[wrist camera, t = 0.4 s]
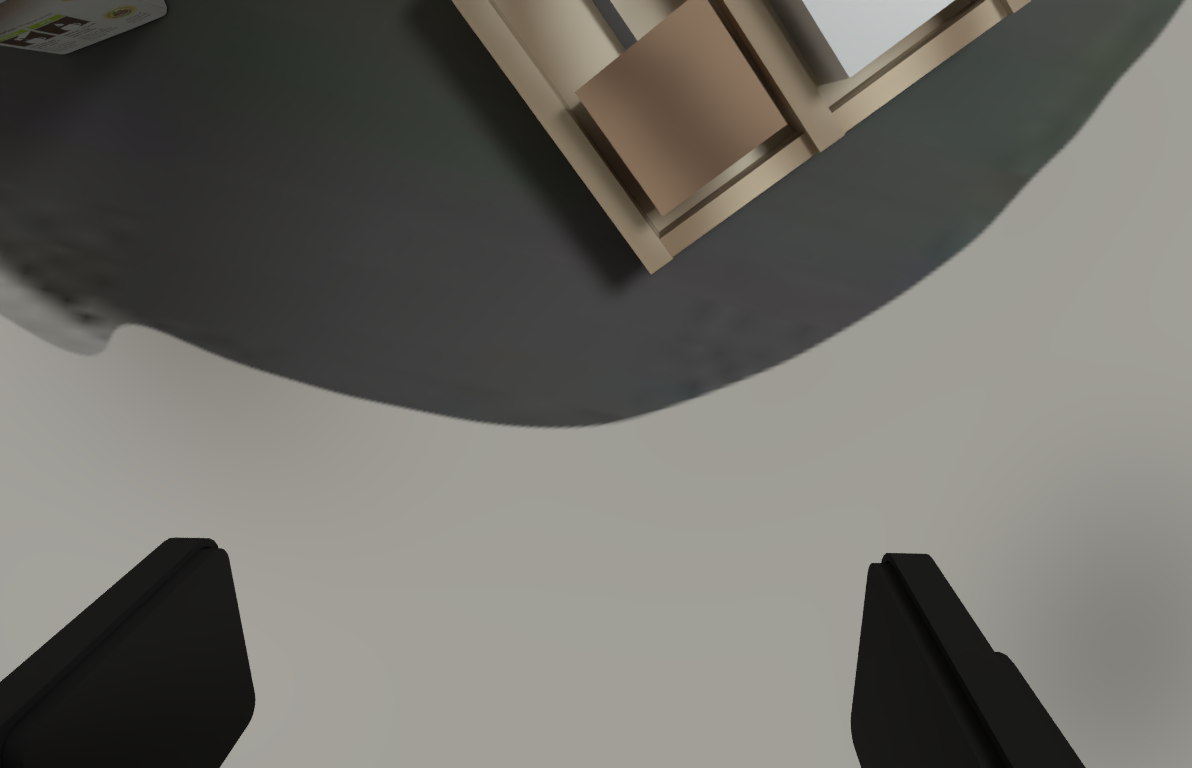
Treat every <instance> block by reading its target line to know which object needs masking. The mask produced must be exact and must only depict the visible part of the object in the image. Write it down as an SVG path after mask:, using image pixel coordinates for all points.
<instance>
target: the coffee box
mask: <svg viewBox="0 0 1192 768" xmlns="http://www.w3.org/2000/svg"><path fill="white" fill-rule="evenodd" d="M166 13H167V6H166V4H165V1H164V0H0V45H1V46H8V47H15V48H20V49H28V50H35V51H41V52H49V53H55V54H67V53H70V52H73V51H75V50H78V49H81V48H84V47H86V46H89V45H91V44H94V43H97V42H99V41H102V40H104V39H107V38H110V37H112V36H115V35H118V34H120V33H123V32H125V31H128V30H130V29H133V28H136V27H138V26H141V25H143V24H146V23H148V22H150V21H153V20H155V19H158V18H160V17H162V16H164V15H165V14H166Z"/></svg>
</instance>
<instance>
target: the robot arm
mask: <svg viewBox="0 0 1192 768" xmlns="http://www.w3.org/2000/svg"><path fill="white" fill-rule="evenodd" d="M254 708H255V693H254V687H253V682H252V677H251V671H250V666H249V661H248V656H247V651H246V646H245V640H244V635H243V629H242V624H241V619H240V614H239V609H238V603H237V598H236V593H235V588H234V582H233V577H232V572H231V566H230V561H229V557H228V554H227V553H226V551H225V550H224V549H221V548H218V545H217V544H216V543H215V541H214V540H212V539H210V538H169V539H168V540H166V541H164V542H163V543H162V544H161V545H160V546H158V547H157V548H156V549H155V550H154V551H153V552H151V553H150V554H149V555H148V556H147V557H146V558H145V559H143V560H142V561H141V562H140V563H139V564H137V565H136V566H135V567H134V568H133V569H132V570H130V571H129V572H128V573H127V574H126V575H125V576H123V577H122V578H121V579H120V580H119V581H118V582H116V584H114V585H113V586H112V587H111V588H109V589H108V590H107V591H106V592H105V593H104V594H103V595H101V596H100V597H99V598H98V599H97V600H95V601H94V602H93V603H92V604H91V605H90V606H88V607H87V608H86V609H85V610H84V611H83V612H81V613H80V614H79V615H78V616H77V617H76V618H75V619H73V620H72V621H71V622H70V623H69V624H68V625H66V626H65V627H64V628H63V629H62V630H60V631H59V632H58V633H57V634H56V635H55V636H53V637H52V638H51V639H50V640H49V641H48V642H46V643H45V644H44V645H43V646H42V647H41V648H40V649H39V650H37V651H36V652H35V653H34V654H33V655H31V656H30V657H29V658H28V659H27V660H26V661H25V662H23V663H22V664H21V665H20V666H19V667H17V668H16V669H15V670H14V671H13V672H11V673H10V674H9V675H8V676H7V677H6V678H4V679H3V680H2V681H1V682H0V768H220V766H221V765H222V763H223V762H224V760H225V759H226V757H227V756H228V754H229V753H230V751H231V750H232V748H233V747H234V745H235V744H236V742H237V741H238V739H239V738H240V736H241V735H242V733H243V732H244V730H245V729H246V727H247V726H248V724H249V722H250V720H251V718H252V715H253V712H254ZM851 732H852V739H853V743H854V747H855V750H856V753H857V756H858V759H859V762H860V765H861V768H1085V766H1084V765H1083V763H1082V762H1081V760H1080V759H1079V757H1078V756H1077V755H1076V753H1075V752H1074V750H1073V749H1072V747H1071V746H1070V744H1069V743H1068V741H1067V740H1066V739H1065V737H1064V736H1063V734H1062V733H1061V731H1060V730H1059V728H1058V727H1057V725H1056V724H1055V723H1054V721H1053V720H1052V718H1051V717H1050V715H1049V714H1048V712H1047V711H1046V709H1045V708H1044V707H1043V705H1042V704H1041V703H1040V701H1039V699H1038V698H1037V697H1036V695H1035V693H1034V692H1033V691H1032V689H1031V688H1030V686H1029V685H1028V683H1027V682H1026V680H1025V679H1024V677H1023V676H1022V674H1021V673H1020V672H1019V670H1018V669H1017V667H1016V666H1015V664H1014V663H1013V662H1012V661H1011V660H1010V659H1009V658H1008V656H1007V655H1005V654H1003V653H1000V652H994V650H993V649H992V647H991V646H990V644H989V643H988V641H987V640H986V638H985V637H984V635H983V634H982V632H981V631H980V629H979V628H978V626H977V625H976V623H975V622H974V620H973V619H972V617H971V616H970V614H969V613H968V611H967V610H966V608H965V607H964V605H963V604H962V602H961V601H960V599H959V598H958V596H957V595H956V593H955V592H954V590H953V589H952V587H951V586H950V584H949V583H948V581H947V580H946V578H945V577H944V575H943V574H942V572H941V571H940V569H939V568H938V566H937V565H936V563H935V562H934V560H933V559H932V558H931V557H930V555H928V554H905V553H886V554H885V555H884V556H883V559H882V562H881V563H872V564H870V566H869V570H868V575H867V584H866V592H865V601H864V610H863V619H862V627H861V636H860V645H859V652H858V661H857V671H856V678H855V686H854V695H853V703H852V712H851Z"/></svg>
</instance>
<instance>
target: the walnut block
mask: <svg viewBox="0 0 1192 768" xmlns="http://www.w3.org/2000/svg"><path fill="white" fill-rule="evenodd" d="M592 1H593V2H594V4H595V5H596V7H597V8H598V9H599V11H600V12H601V14H602V15H603V17H604V18H605V20H606V21H607V23H608V24H609V26H610V27H611V29H612V30H613V31H614V33H615V34H616V36H617V37H618V39H619V40H620V42H621V43H622V45H623V46H624V48H625V49H626V51H625V52H623V53H622V54H621V55H620V56H619V57H617V58H616V59H615V60H614V61H612V62H611V63H610V64H609V65H608V66H606V67H605V68H604V69H603V70H601V71H600V72H599V73H598V74H596V75H595V76H594V77H593V78H592V79H590V80H589V81H588V82H587V83H585V84H584V85H583V86H582V87H581V88H579V89H578V90H577V91H576V92H575V94H576V95H577V96H578V98H579V99H580V101H581V102H582V103H583V105H584V106H585V108H586V109H587V110H588V112H589V113H590V115H591V116H592V118H593V119H594V120H595V122H596V123H597V125H598V126H599V127H600V129H601V130H602V132H603V133H604V134H605V136H606V137H607V139H608V140H609V142H610V143H611V144H612V146H613V147H614V149H615V150H616V151H617V153H618V154H619V156H620V157H621V158H622V160H623V161H624V163H625V164H626V166H627V167H628V168H629V170H630V171H631V173H632V174H633V175H634V177H635V178H636V180H637V181H638V182H639V184H640V185H641V187H642V188H643V189H644V191H645V192H646V194H647V195H648V197H649V198H650V199H651V201H652V202H653V204H654V205H655V206H656V208H657V209H658V211H659V212H660V213H661V215H662V216H664V215H665V214H667V213H668V212H669V211H671V210H672V209H673V208H675V207H676V206H677V205H679V204H680V203H681V202H683V201H684V200H686V199H687V198H688V197H690V196H691V195H692V194H694V193H695V192H696V191H698V190H699V189H700V188H702V187H703V186H704V185H706V184H707V183H709V182H710V181H711V180H713V179H714V178H715V177H717V176H718V175H719V174H721V173H722V172H723V171H725V170H726V169H727V168H729V167H730V166H731V165H733V164H734V163H736V162H737V161H738V160H740V159H741V158H742V157H744V156H745V155H746V154H748V153H749V152H750V151H752V150H753V149H754V148H756V147H757V146H759V145H760V144H761V143H763V142H764V141H765V140H767V139H768V138H769V137H771V136H772V135H773V134H775V133H776V132H777V131H779V130H780V129H781V128H783V127H784V126H786V125H787V123H786V121H785V120H784V118H783V117H782V115H781V113H780V112H779V110H778V109H777V107H776V106H775V104H774V103H773V101H772V100H771V98H770V96H769V95H768V93H767V92H766V90H765V89H764V87H763V86H762V84H761V82H760V81H759V79H758V78H757V76H756V75H755V73H754V72H753V70H752V68H751V67H750V65H749V64H748V62H747V61H746V59H745V58H744V56H743V54H742V53H741V51H740V50H739V48H738V47H737V45H736V44H735V42H734V41H733V39H732V37H731V36H730V34H729V33H728V31H727V30H726V28H725V27H724V25H723V23H722V22H721V20H720V19H719V17H718V16H717V14H716V13H715V11H714V9H713V8H712V6H711V5H710V3H709V2H708V0H687V1H686V2H685V3H684V4H682V5H681V6H680V7H679V8H677V9H676V10H675V11H674V12H673V13H671V14H670V15H669V16H668V17H666V18H665V19H664V20H663V21H661V22H660V23H659V24H658V25H657V26H655V27H654V28H653V29H652V30H650V31H649V32H648V33H647V34H646V35H644V36H643V37H642V38H641V39H639V40H638V41H637V39H636V38H635V36H634V35H633V33H632V32H631V31H630V29H629V28H628V26H627V25H626V23H625V22H624V20H623V19H622V17H621V16H620V14H619V13H618V11H617V10H616V8H615V7H614V5H613V4H612V2H611V1H610V0H592Z"/></svg>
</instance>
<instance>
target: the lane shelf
mask: <svg viewBox="0 0 1192 768" xmlns="http://www.w3.org/2000/svg"><path fill="white" fill-rule="evenodd" d="M610 1H611V2H612V4H613V5H614V7H615V8H616V10H617V11H618V13H619V14H620V16H621V17H622V19H623V20H624V22H625V23H626V25H627V26H628V28H629V29H630V31H631V32H632V33H633V35H634V36H635V38H636V39H637V41H638V40H639V39H641V38H642V37H643V36H644V35H646V34H647V33H648V32H649V31H650V30H652V29H653V28H654V27H655V26H657V25H658V24H659V23H660V22H661V21H663V20H664V19H665V18H666V17H668V16H669V15H670V14H671V13H673V12H674V11H675V10H676V9H677V8H679V7H680V6H681V5H682V4H684V3H685V2H686V1H687V0H610ZM1030 1H1031V0H954V1H953V2H952V3H950V4H949V5H948V6H946V7H945V8H944V9H942V10H941V11H940V12H938V13H937V14H936V15H934V16H933V17H931V18H930V19H929V20H927V21H926V22H925V23H923V24H922V25H921V26H919V27H918V28H917V29H915V30H914V31H913V32H911V33H910V34H909V35H907V36H906V37H904V38H903V39H902V40H900V41H899V42H898V43H896V44H895V45H894V46H892V47H891V48H890V49H888V50H887V51H886V52H884V53H883V54H881V55H880V56H879V57H877V58H876V59H875V60H873V61H872V62H871V63H869V64H868V65H867V66H865V67H864V68H863V69H861V70H860V71H859V72H857V73H856V74H854V75H853V76H852V77H850V78H848V79H844V80H840V81H836V82H832V83H828V84H824V85H821V84H820V82H819V81H818V79H817V77H816V76H815V74H814V73H813V71H812V69H811V68H810V66H809V65H808V63H807V61H806V60H805V58H804V57H803V55H802V53H801V52H800V50H799V49H798V47H797V45H796V44H795V42H794V41H793V39H792V37H791V36H790V34H789V33H788V31H787V29H786V28H785V26H784V25H783V23H782V21H781V20H780V18H779V17H778V15H777V13H776V12H775V10H774V9H773V7H772V5H771V4H770V2H769V0H708V2H709V3H710V5H711V6H712V8H713V9H714V11H715V13H716V14H717V16H718V17H719V19H720V20H721V22H722V23H723V25H724V27H725V28H726V30H727V31H728V33H729V34H730V36H731V37H732V39H733V41H734V42H735V44H736V45H737V47H738V48H739V50H740V51H741V53H742V54H743V56H744V58H745V59H746V61H747V62H748V64H749V65H750V67H751V68H752V70H753V72H754V73H755V75H756V76H757V78H758V79H759V81H760V82H761V84H762V86H763V87H764V89H765V90H766V92H767V93H768V95H769V96H770V98H771V100H772V101H773V103H774V104H775V106H776V107H777V109H778V110H779V112H780V113H781V115H782V117H783V118H784V120H785V121H786V123H787V125H786V126H784V127H783V128H781V129H780V130H779V131H777V132H776V133H775V134H773V135H772V136H771V137H769V138H768V139H767V140H765V141H764V142H763V143H761V144H760V145H759V146H757V147H756V148H754V149H753V150H752V151H750V152H749V153H748V154H746V155H745V156H744V157H742V158H741V159H740V160H738V161H737V162H736V163H734V164H733V165H731V166H730V167H729V168H727V169H726V170H725V171H723V172H722V173H721V174H719V175H718V176H717V177H715V178H714V179H713V180H711V181H710V182H709V183H707V184H706V185H704V186H703V187H702V188H700V189H699V190H698V191H696V192H695V193H694V194H692V195H691V196H690V197H688V198H687V199H686V200H684V201H683V202H681V203H680V204H679V205H677V206H676V207H675V208H673V209H672V210H671V211H669V212H668V213H667V214H665V215H664V216H662V215H661V213H660V212H659V211H658V209H657V208H656V206H655V205H654V204H653V202H652V201H651V199H650V198H649V197H648V195H647V194H646V192H645V191H644V189H643V188H642V187H641V185H640V184H639V182H638V181H637V180H636V178H635V177H634V175H633V174H632V173H631V171H630V170H629V168H628V167H627V166H626V164H625V163H624V161H623V160H622V158H621V157H620V156H619V154H618V153H617V151H616V150H615V149H614V147H613V146H612V144H611V143H610V142H609V140H608V139H607V137H606V136H605V134H604V133H603V132H602V130H601V129H600V127H599V126H598V125H597V123H596V122H595V120H594V119H593V118H592V116H591V115H590V113H589V112H588V110H587V109H586V108H585V106H584V105H583V103H582V102H581V101H580V99H579V98H578V96H577V95H576V94H575V92H576V91H577V90H578V89H579V88H581V87H582V86H583V85H584V84H585V83H587V82H588V81H589V80H590V79H592V78H593V77H594V76H595V75H596V74H598V73H599V72H600V71H601V70H603V69H604V68H605V67H606V66H608V65H609V64H610V63H611V62H612V61H614V60H615V59H616V58H617V57H619V56H620V55H621V54H622V53H623V52H625V51H626V49H625V48H624V46H623V45H622V43H621V42H620V40H619V39H618V37H617V36H616V34H615V33H614V31H613V30H612V29H611V27H610V26H609V24H608V23H607V21H606V20H605V18H604V17H603V15H602V14H601V12H600V11H599V9H598V8H597V7H596V5H595V4H594V2H593V1H592V0H452V2H453V3H454V5H455V6H456V7H457V9H458V10H459V11H460V13H461V14H462V16H463V17H464V18H465V20H466V21H467V22H468V24H469V25H470V27H471V28H472V29H473V31H474V32H475V33H476V35H477V36H478V38H479V39H480V40H481V42H482V43H483V44H484V46H485V47H486V48H487V50H488V51H489V53H490V54H491V55H492V57H493V58H494V59H495V61H496V62H497V64H498V65H499V66H500V68H501V69H502V70H503V72H504V73H505V75H506V76H507V77H508V79H509V80H510V81H511V83H512V84H513V86H514V87H515V88H516V90H517V91H518V92H519V94H520V95H521V97H522V98H523V99H524V101H525V102H526V103H527V105H528V106H529V108H530V109H531V110H532V112H533V113H534V114H535V116H536V117H537V119H538V120H539V121H540V123H541V124H542V125H543V127H544V128H545V130H546V131H547V132H548V134H549V135H550V136H551V138H552V139H553V141H554V142H555V143H556V145H557V146H558V147H559V149H560V150H561V152H562V153H563V154H564V156H565V157H566V158H567V160H568V161H569V163H570V164H571V165H572V167H573V168H574V169H575V171H576V172H577V174H578V175H579V176H580V178H581V179H582V180H583V182H584V183H585V185H586V186H587V187H588V189H589V190H590V191H591V193H592V194H593V195H594V197H595V198H596V200H597V201H598V202H599V204H600V205H601V206H602V208H603V209H604V211H605V212H606V213H607V215H608V216H609V217H610V219H611V220H612V222H613V223H614V224H615V226H616V227H617V228H618V230H619V231H620V233H621V234H622V235H623V237H624V238H625V239H626V241H627V242H628V244H629V245H630V246H631V248H632V249H633V250H634V252H635V253H636V255H637V256H638V257H639V259H640V260H641V261H642V263H643V264H644V266H645V267H646V268H647V270H648V271H649V272H650V274H653V273H654V272H655V271H657V270H658V269H659V268H661V267H662V266H664V265H665V264H666V263H668V262H669V261H671V260H672V259H673V256H675V255H676V254H677V253H679V252H680V251H682V250H683V249H684V248H686V247H687V246H689V245H690V244H691V243H693V242H694V241H695V240H697V239H698V238H700V237H701V236H702V235H704V234H705V233H707V232H708V231H709V230H711V229H712V228H713V227H715V226H716V225H718V224H719V223H720V222H722V221H723V220H725V219H726V218H727V217H729V216H730V215H731V214H733V213H734V212H736V211H737V210H738V209H740V208H741V207H743V206H744V205H745V204H747V203H748V202H749V201H751V200H752V199H754V198H755V197H756V196H758V195H759V194H761V193H762V192H763V191H765V190H766V189H768V188H769V187H770V186H772V185H773V184H774V183H776V182H777V181H779V180H780V179H781V178H783V177H784V176H786V175H787V174H788V173H790V172H791V171H792V170H794V169H795V168H797V167H798V166H799V165H801V164H802V163H804V162H805V161H806V160H808V159H809V158H810V157H812V156H813V155H815V154H816V153H817V152H822V151H823V150H825V149H826V148H827V147H829V146H830V145H831V144H833V143H834V142H836V141H837V140H838V139H840V138H841V137H843V136H844V135H845V132H846V131H848V130H849V129H851V128H852V127H853V126H855V125H856V124H858V123H859V122H860V121H862V120H863V119H864V118H866V117H867V116H869V115H870V114H871V113H873V112H874V111H876V110H877V109H878V108H880V107H881V106H883V105H884V104H885V103H887V102H888V101H889V100H891V99H892V98H894V97H895V96H896V95H898V94H899V93H901V92H902V91H903V90H905V89H906V88H907V87H909V86H910V85H912V84H913V83H914V82H916V81H917V80H919V79H920V78H921V77H923V76H924V75H925V74H927V73H928V72H930V71H931V70H932V69H934V68H935V67H937V66H938V65H939V64H941V63H942V62H943V61H945V60H946V59H948V58H949V57H950V56H952V55H953V54H955V53H956V52H957V51H959V50H960V49H961V48H963V47H964V46H966V45H967V44H968V43H970V42H971V41H973V40H974V39H975V38H977V37H978V36H979V35H981V34H982V33H984V32H985V31H986V30H988V29H989V28H991V27H992V26H993V25H995V24H996V23H998V22H999V21H1000V20H1002V19H1003V18H1004V17H1006V16H1007V15H1009V14H1013V13H1015V12H1016V11H1017V10H1019V9H1020V8H1022V7H1023V6H1024V5H1026V4H1027V3H1028V2H1030Z"/></svg>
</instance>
